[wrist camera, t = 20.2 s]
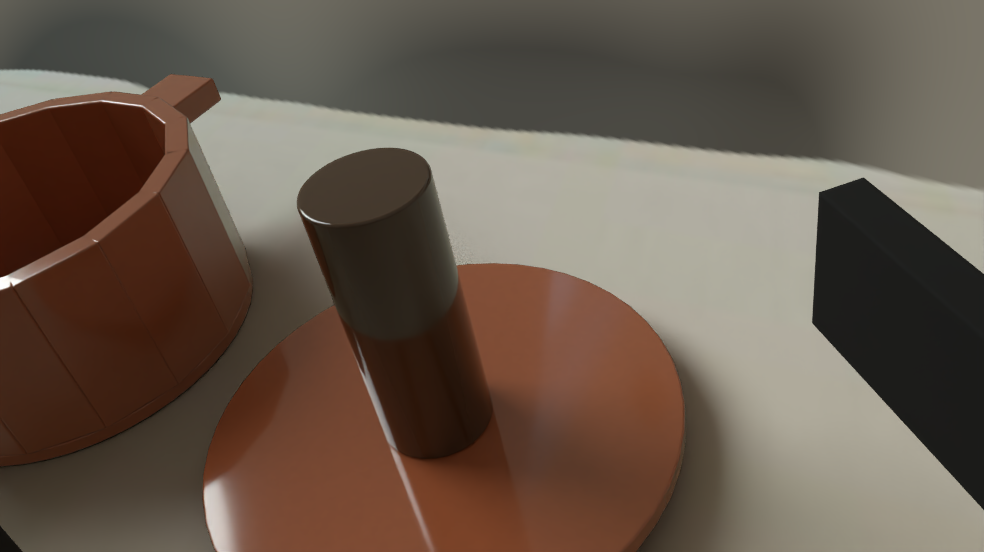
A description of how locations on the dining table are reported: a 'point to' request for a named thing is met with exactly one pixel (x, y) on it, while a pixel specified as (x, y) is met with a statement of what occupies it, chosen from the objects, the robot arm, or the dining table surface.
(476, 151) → the dining table surface
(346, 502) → the lid
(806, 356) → the dining table surface
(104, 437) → the cooking pot
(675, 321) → the dining table surface
